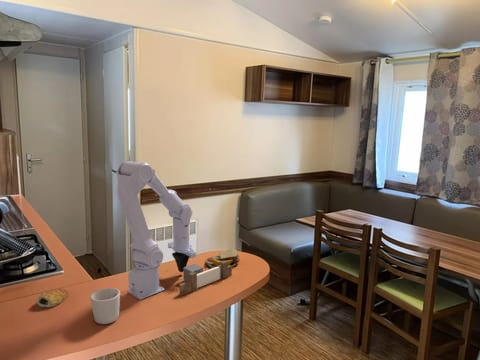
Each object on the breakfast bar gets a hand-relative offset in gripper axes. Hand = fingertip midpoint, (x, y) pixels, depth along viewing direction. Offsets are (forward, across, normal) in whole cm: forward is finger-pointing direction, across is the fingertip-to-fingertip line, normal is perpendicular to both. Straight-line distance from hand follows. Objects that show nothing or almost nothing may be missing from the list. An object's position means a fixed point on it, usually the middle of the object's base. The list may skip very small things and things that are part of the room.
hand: (182, 271), depth 137 cm
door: (+1, -12, -2) cm, 13 cm away
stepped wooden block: (+1, -12, -2) cm, 13 cm away
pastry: (+2, +12, +41) cm, 43 cm away
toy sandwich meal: (+2, -2, -18) cm, 18 cm away
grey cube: (+2, -7, 0) cm, 7 cm away
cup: (+2, -8, +34) cm, 35 cm away
